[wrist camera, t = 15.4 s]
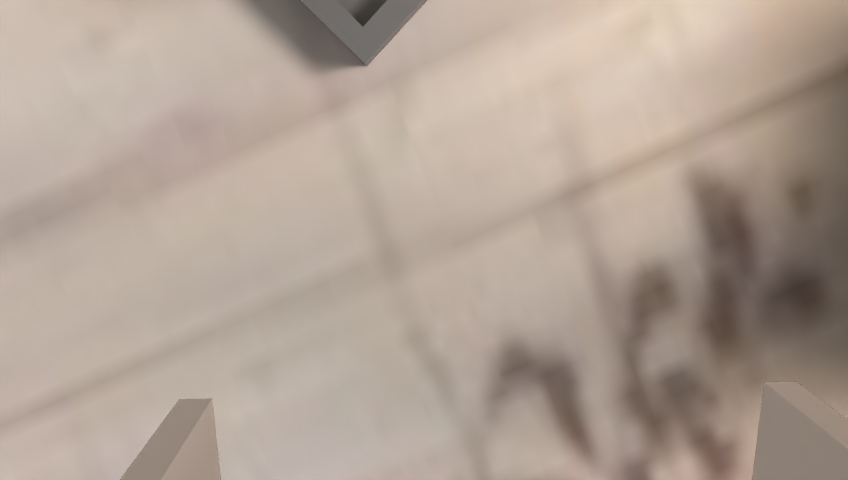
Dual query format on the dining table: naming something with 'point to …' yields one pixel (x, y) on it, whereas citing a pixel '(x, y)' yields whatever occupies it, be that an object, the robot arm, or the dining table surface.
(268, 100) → the dining table surface
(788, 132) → the dining table surface
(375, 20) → the base
